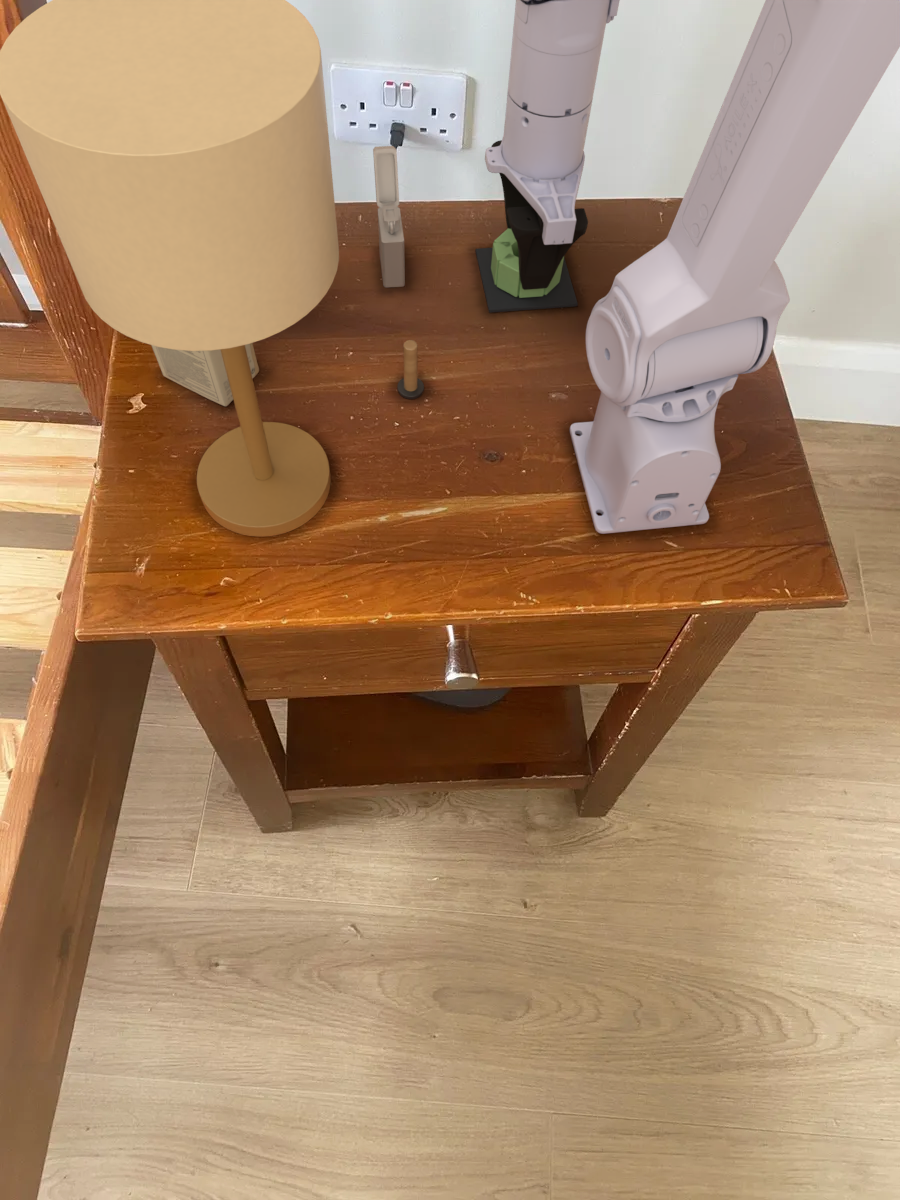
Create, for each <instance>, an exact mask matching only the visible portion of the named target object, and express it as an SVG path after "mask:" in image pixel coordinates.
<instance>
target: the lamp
mask: <svg viewBox="0 0 900 1200" xmlns="http://www.w3.org/2000/svg"><path fill="white" fill-rule="evenodd" d="M324 80H325V79H324V69H323V59H322V49H321V44H320V41H319V37H318V36H317V33H316V31H315V29H314V27H313V25H312V24H311V23H310V21H309V20H308V18H307V17H306V16H305V15H304V14H303V13H302V12H301V11H300V10H299V9H298V8H297V7H296V6H294V5H293V4H291V3H290V2H289V1H288V0H50V1H49V2H47V3H45V4H44V5H42V6H40V7H39V8H37V9H36V10H34V11H33V12H32V13H30V14H29V15H28V16H26V17H25V18H24V19H23V20H21V22H20V23H19V24H18V25H17V26H16V27H15V28H14V29H13V30H12V31H11V33H10V34H9V35H8V36H7V38H6V39H5V40H4V43H3V45H2V46H1V48H0V97H1V100H2V103H3V105H4V107H5V110H6V112H7V115H8V117H9V119H10V122H11V124H12V127H13V129H14V131H15V133H16V135H17V138H18V141H19V142H20V146H21V148H22V151H23V153H24V155H25V157H26V160H27V163H28V165H29V167H30V169H31V172H32V174H33V177H34V179H35V181H36V184H37V187H38V189H39V191H40V194H41V196H42V198H43V201H44V203H45V206H46V208H47V210H48V213H49V215H50V217H51V220H52V222H53V225H54V228H55V230H56V232H57V234H58V237H59V240H60V242H61V244H62V246H63V249H64V252H65V254H66V257H67V259H68V261H69V264H70V266H71V269H72V270H73V273H74V276H75V278H76V281H77V283H78V285H79V288H80V290H81V292H82V294H83V297H84V299H85V301H86V302H87V304H88V305H89V307H90V309H91V310H92V311H93V312H94V313H95V314H96V315H97V316H98V317H99V318H100V319H101V320H102V321H103V322H104V323H106V324H107V325H108V326H109V327H111V328H112V329H113V330H115V331H117V332H119V333H120V334H122V335H124V336H126V337H128V338H131V339H133V340H135V341H137V342H140V343H142V344H143V343H144V344H147V345H149V346H152V345H153V346H157V347H162V348H168V349H174V350H186V351H210V350H219V349H220V350H221V354H222V358H223V362H224V365H225V369H226V373H227V377H228V381H229V384H230V388H231V392H232V396H233V400H232V401H233V403H234V408H235V411H236V414H237V418H238V424H239V426H238V427H235V428H233V429H231V430H229V431H227V432H226V433H224V434H222V435H221V436H219V438H217V439H216V440H214V442H213V443H212V444H211V445H209V446H208V448H207V449H206V450H205V452H204V453H203V455H202V457H201V459H200V461H199V464H198V467H197V471H196V487H197V491H198V494H199V497H200V500H201V502H202V505H203V507H204V509H205V510H206V512H207V513H208V515H209V516H210V517H211V519H212V520H214V521H215V522H216V523H217V524H219V525H220V526H221V527H223V528H225V529H227V530H229V531H231V532H233V533H236V534H239V535H241V536H242V535H243V536H249V537H256V538H257V537H272V536H273V537H274V536H278V535H283V534H286V533H289V532H291V531H294V530H296V529H298V528H300V527H302V526H304V525H305V524H306V523H308V522H309V521H310V520H312V518H314V517H315V516H316V515H317V514H318V513H319V512H320V511H321V509H322V507H323V506H324V505H325V503H326V501H327V499H328V497H329V493H330V491H331V484H332V476H331V468H330V463H329V459H328V455H327V453H326V451H325V450H324V448H323V446H322V445H321V444H320V442H319V441H318V440H317V439H315V437H314V436H312V435H311V434H310V433H309V432H307V431H305V430H304V429H301V428H299V427H297V426H296V425H295V426H294V425H291V424H289V423H283V422H277V421H263V418H262V414H261V409H260V406H259V400H258V397H257V392H256V388H255V383H254V378H252V374H251V370H250V365H249V361H248V356H247V352H246V348H245V345H247V344H250V343H253V344H254V343H256V342H259V341H263V340H266V339H267V338H270V337H272V336H274V335H276V334H279V333H282V332H284V331H285V330H287V329H288V328H290V327H292V326H293V325H295V324H296V323H298V322H299V321H301V320H303V318H305V317H306V316H307V315H308V314H310V312H311V311H312V310H314V309H315V308H316V307H317V306H318V305H319V304H320V302H322V300H323V298H324V297H325V296H326V295H327V293H328V291H329V290H330V288H331V286H332V284H333V282H334V281H335V277H336V275H337V271H338V266H339V263H340V246H339V245H340V244H339V236H338V224H337V223H338V222H337V213H336V203H335V202H336V201H335V192H334V191H335V190H334V180H333V169H332V158H331V148H330V138H329V137H330V136H329V125H328V113H327V103H326V92H325V81H324Z"/></svg>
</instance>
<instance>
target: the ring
mask: <svg viewBox="0 0 900 1200" xmlns="http://www.w3.org/2000/svg"><path fill="white" fill-rule="evenodd" d="M492 248H493V250H492V261H491V271H492V275H493V279H494V284H495V285H497V287H498V288H500V289H502V290H504V291H506V292H507V293H509V294H511V295H513V296H515V297H517V296H518V295H519V298H527V297H541V296H543V295H547V294H548V293H549V292H550V291H551V290H552V289H553V288H554V287H555V286H556V285H557V284H558V283H559V281H560V277H561V271H562V266H563V260H564V258H565V256H564V257H563V259H562V260H561V262H560V264H559V266H558V268H557V270H556V272H555V274H554V276H553V278H552V280H551V282H550V284H549V286H548V287H547V288H543V289H529V290H524V289H523V288H522V285H521V280H520V275H519V257H518V245H517V241H516V239H515V237H514V234H513V232H512V229H509V228H508V229H506V230H504V231H503V232H502V233H501V234H500V235H499V236H497V238H495V239H494V240H493V243H492Z"/></svg>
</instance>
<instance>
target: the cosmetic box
mask: <svg viewBox="0 0 900 1200" xmlns="http://www.w3.org/2000/svg"><path fill="white" fill-rule="evenodd" d="M151 348H152V351H153V353H154V356H155V358H156V360H157V364H158V366H159V368H160V370H161V374H162V376H163V377H165V378H166V379H168V380H170V381H172V382H174V383H176V384H178V385H179V386H182V387H184V388H186V389H188V390H189V391H192V392H194V393H196V394H198V395H200V396H202V397H204V398H206V399H208V400H209V401H211V402H214V403H216V404H219V405H221V406H223V407H228V406H229V405H230V404H231V402H233V401H234V400H233V396H232V392H231V388H230V384H229V381H228V377H227V373H226V369H225V365H224V362H223V358H222V354H221V350H220V349H219V350H210V351H186V350H174V349H168V348H162V347H157V346H153V345H151ZM245 348H246V352H247V356H248V361H249V365H250V370H251V374H252V378H253V379H254V378H255V377H256V376H257V375H258V373H259V372H260V367H259V364H258V361H257V356H256V352H255V347H254V342H253V343H250V344H247V345H245Z"/></svg>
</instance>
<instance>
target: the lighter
mask: <svg viewBox="0 0 900 1200" xmlns="http://www.w3.org/2000/svg"><path fill="white" fill-rule="evenodd" d="M372 155H373V170H374V183H375V186H374V187H375V200H376V205H377V207H378V208H377V223H378V225H377V226H378V246H379V247H378V248H379V249H378V250H379V261H380V268H381V277H382V285H383V287H384V288H400V287H402V288H403V287H404V286H405V285H406V280H405V279H406V276H405V275H406V273H405V271H406V269H405V268H406V267H405V263H406V262H405V237H404V228H403V222H402V216H401V208H400V207H399V205H400V190H399V189H400V188H399V171H398V150H397V149H396V147H395V146H393V145H385V146H383V145H381V146H374V147H373V148H372Z"/></svg>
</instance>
